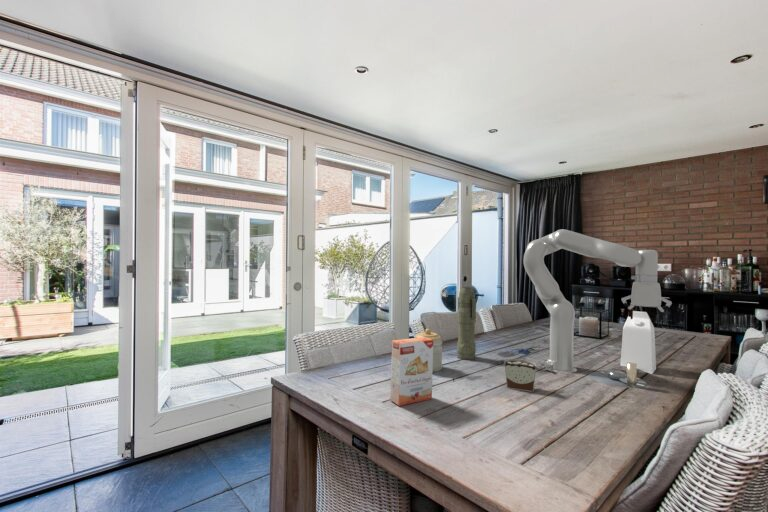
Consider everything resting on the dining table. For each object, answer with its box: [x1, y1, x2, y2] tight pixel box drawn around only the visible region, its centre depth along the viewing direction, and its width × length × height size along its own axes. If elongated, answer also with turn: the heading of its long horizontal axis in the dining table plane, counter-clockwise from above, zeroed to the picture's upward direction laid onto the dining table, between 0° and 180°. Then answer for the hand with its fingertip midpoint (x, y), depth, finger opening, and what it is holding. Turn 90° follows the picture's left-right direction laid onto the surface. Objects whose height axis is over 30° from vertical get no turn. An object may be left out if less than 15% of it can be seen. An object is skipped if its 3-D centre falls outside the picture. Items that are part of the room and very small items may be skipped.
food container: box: [502, 358, 539, 392], centre depth 142 cm, size 12×6×10 cm, turn 65°
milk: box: [619, 310, 657, 375], centre depth 169 cm, size 12×12×26 cm
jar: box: [414, 328, 443, 373], centre depth 165 cm, size 13×13×18 cm
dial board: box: [588, 371, 648, 389], centre depth 149 cm, size 20×20×1 cm
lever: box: [607, 362, 638, 386], centre depth 146 cm, size 13×6×8 cm, turn 5°
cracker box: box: [390, 337, 434, 407], centre depth 127 cm, size 14×6×21 cm, turn 121°
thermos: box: [456, 286, 477, 361], centre depth 184 cm, size 9×12×35 cm
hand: (645, 320), depth 155 cm, fingers open, 9 cm apart
